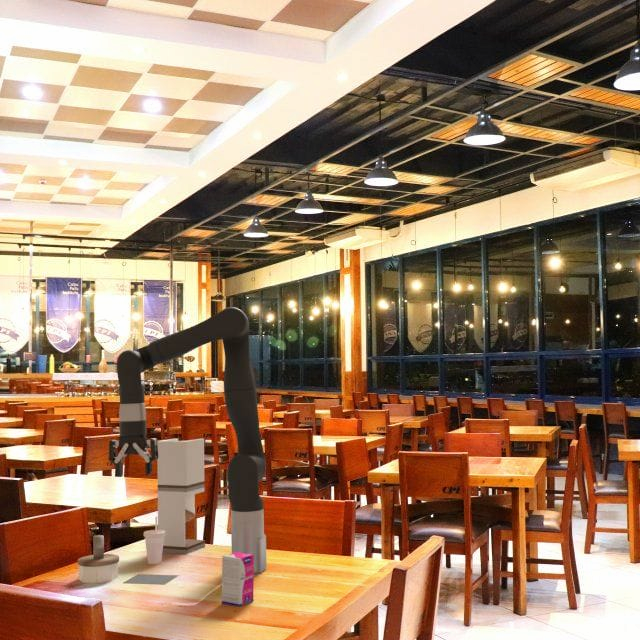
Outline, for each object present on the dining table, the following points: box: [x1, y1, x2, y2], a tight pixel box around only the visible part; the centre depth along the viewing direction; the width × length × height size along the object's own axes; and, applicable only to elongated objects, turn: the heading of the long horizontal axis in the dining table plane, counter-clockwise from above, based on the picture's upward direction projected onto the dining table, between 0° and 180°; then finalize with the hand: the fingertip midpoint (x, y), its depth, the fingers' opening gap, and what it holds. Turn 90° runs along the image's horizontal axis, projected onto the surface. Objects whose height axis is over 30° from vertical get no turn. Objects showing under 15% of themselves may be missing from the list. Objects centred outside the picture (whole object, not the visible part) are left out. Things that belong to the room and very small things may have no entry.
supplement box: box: [221, 552, 255, 607], centre depth 203 cm, size 6×6×12 cm
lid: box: [77, 534, 120, 567], centre depth 228 cm, size 11×11×7 cm
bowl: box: [78, 562, 119, 584], centre depth 227 cm, size 10×10×5 cm
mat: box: [122, 573, 179, 586], centre depth 225 cm, size 12×10×1 cm
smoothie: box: [143, 516, 165, 565], centre depth 246 cm, size 6×6×14 cm
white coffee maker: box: [156, 437, 206, 555], centre depth 268 cm, size 11×11×35 cm
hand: (134, 475), depth 238 cm, fingers open, 8 cm apart
